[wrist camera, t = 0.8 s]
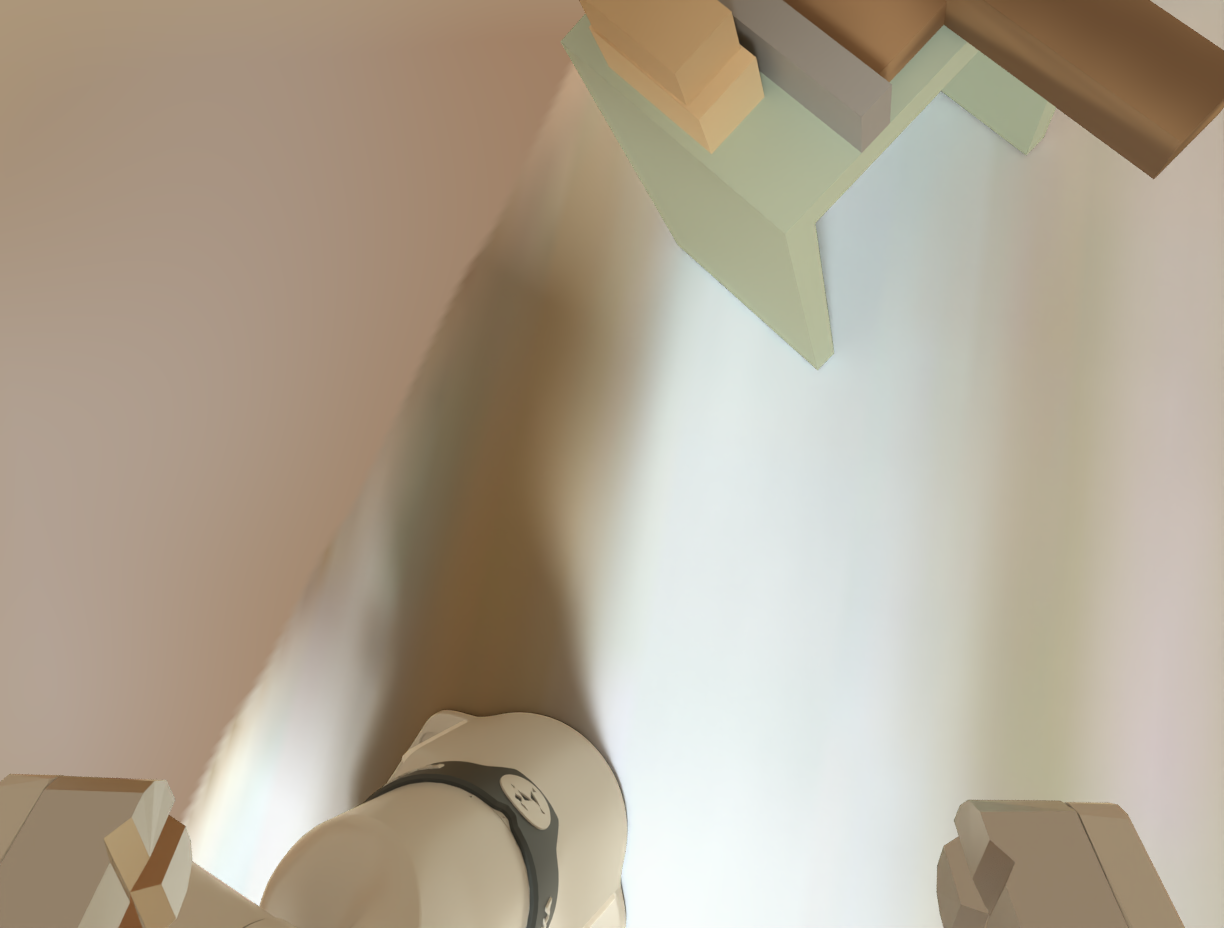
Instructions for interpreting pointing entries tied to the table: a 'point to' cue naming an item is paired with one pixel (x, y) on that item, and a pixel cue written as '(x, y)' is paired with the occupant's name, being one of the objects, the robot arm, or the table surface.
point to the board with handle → (1059, 59)
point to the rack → (768, 132)
